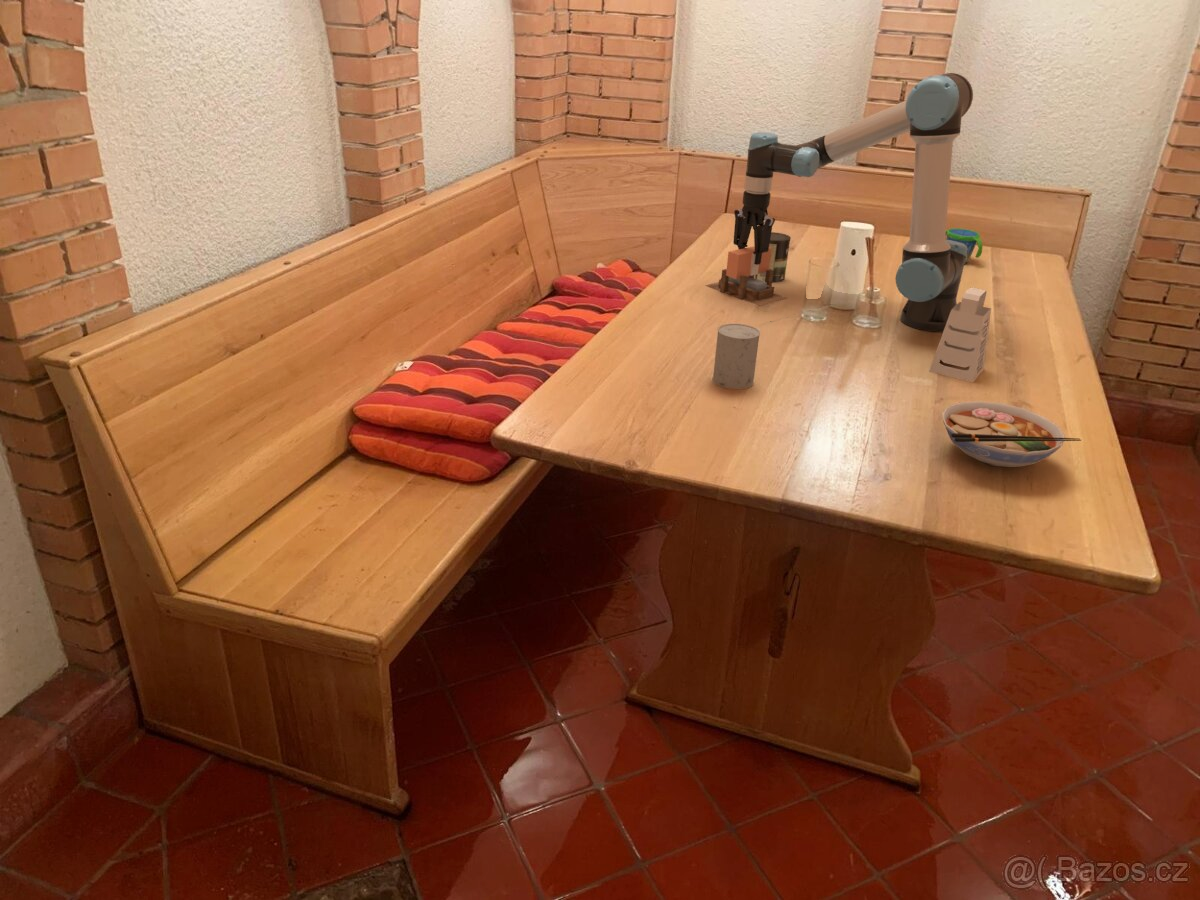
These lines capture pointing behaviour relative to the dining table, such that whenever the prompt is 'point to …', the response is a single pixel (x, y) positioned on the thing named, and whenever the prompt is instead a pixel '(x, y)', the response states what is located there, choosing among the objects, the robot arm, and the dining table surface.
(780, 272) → the coffee can
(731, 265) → the orange block
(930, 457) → the dining table surface
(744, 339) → the grey concrete cylinder
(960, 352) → the grater
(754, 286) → the blue-grey block
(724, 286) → the jig
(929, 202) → the robot arm
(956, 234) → the snack cup
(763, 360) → the dining table surface
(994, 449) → the ramen bowl
